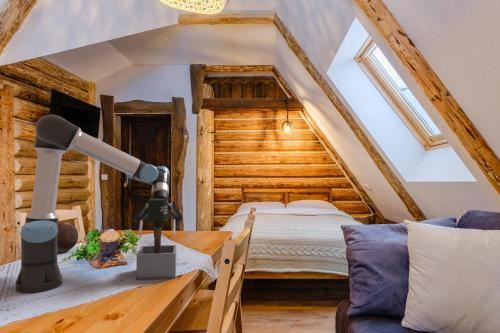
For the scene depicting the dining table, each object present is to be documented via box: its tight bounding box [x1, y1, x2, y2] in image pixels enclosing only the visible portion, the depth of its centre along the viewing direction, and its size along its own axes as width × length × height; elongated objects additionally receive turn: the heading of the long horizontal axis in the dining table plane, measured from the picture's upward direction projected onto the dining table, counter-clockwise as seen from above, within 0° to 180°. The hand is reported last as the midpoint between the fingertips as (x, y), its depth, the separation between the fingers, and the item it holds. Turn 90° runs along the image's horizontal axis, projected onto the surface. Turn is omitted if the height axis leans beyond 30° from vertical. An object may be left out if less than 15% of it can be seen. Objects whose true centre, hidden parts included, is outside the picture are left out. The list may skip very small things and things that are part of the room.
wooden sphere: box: [57, 222, 79, 253], centre depth 185 cm, size 15×15×15 cm
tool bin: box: [135, 244, 177, 281], centre depth 150 cm, size 15×15×10 cm
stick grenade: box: [146, 198, 169, 253], centre depth 150 cm, size 8×9×30 cm
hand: (157, 234), depth 148 cm, fingers open, 13 cm apart
